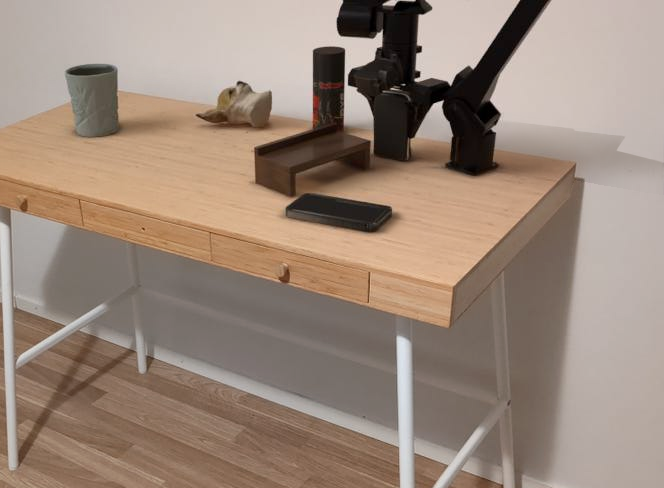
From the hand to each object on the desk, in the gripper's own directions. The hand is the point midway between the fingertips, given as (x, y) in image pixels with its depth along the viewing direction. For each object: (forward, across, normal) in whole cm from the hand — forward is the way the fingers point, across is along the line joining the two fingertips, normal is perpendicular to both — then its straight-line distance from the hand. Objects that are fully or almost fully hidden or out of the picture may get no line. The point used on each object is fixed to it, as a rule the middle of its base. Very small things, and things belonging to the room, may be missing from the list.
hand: (395, 133), depth 156 cm
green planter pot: (+4, -53, -29) cm, 61 cm away
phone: (+4, +12, -25) cm, 28 cm away
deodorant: (+4, -19, +2) cm, 20 cm away
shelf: (+4, -3, -16) cm, 17 cm away
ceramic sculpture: (+4, -35, -7) cm, 36 cm away
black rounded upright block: (+4, 0, 0) cm, 4 cm away
